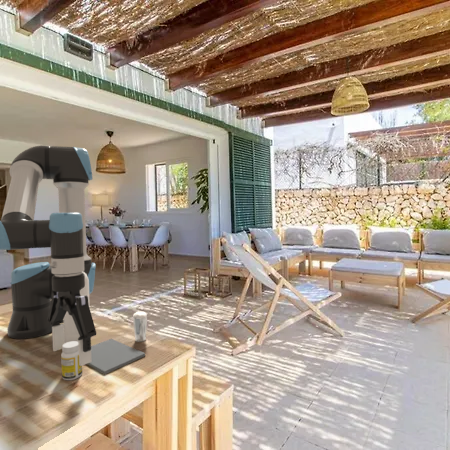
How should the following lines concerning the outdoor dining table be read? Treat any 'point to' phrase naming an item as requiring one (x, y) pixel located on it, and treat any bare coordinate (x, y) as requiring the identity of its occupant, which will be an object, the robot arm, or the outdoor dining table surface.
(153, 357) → the outdoor dining table surface
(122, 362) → the slate mat
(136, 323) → the milkshake
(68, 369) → the supplement bottle
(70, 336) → the bottle
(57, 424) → the outdoor dining table surface
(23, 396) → the outdoor dining table surface
